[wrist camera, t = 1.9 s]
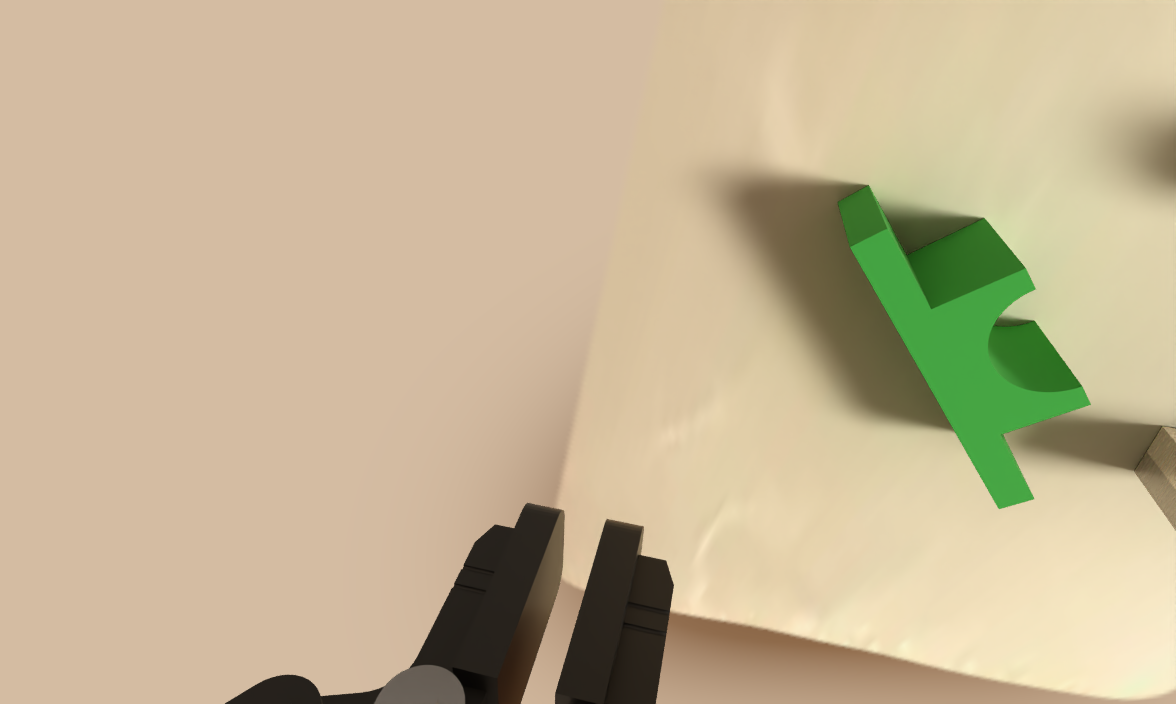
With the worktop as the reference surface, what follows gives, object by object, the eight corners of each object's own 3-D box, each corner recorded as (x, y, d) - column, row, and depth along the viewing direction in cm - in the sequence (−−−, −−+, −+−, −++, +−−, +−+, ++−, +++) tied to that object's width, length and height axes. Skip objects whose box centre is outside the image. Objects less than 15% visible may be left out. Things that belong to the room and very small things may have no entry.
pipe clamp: (1070, 394, 25) (1125, 475, 21) (965, 430, 27) (998, 510, 23) (946, 139, 21) (985, 180, 18) (836, 199, 23) (849, 249, 19)
